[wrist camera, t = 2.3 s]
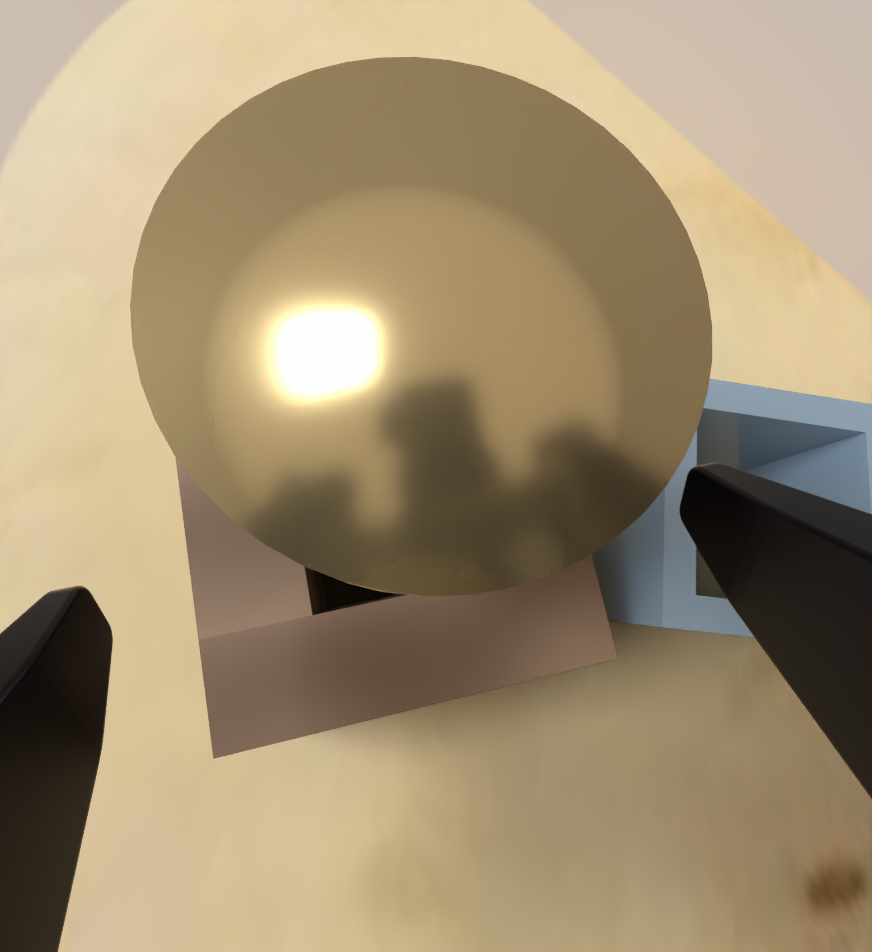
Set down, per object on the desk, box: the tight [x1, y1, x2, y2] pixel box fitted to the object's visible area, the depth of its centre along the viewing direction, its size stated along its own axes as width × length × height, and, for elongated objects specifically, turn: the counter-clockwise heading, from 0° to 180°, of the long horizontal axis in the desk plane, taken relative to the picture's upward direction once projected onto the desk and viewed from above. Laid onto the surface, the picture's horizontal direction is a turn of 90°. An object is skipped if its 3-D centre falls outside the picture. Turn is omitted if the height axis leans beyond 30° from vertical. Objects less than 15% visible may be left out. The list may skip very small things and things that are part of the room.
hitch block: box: [176, 458, 618, 758], centre depth 15 cm, size 9×9×4 cm
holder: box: [591, 379, 872, 637], centre depth 16 cm, size 6×6×5 cm
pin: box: [130, 57, 712, 596], centre depth 11 cm, size 4×4×14 cm
